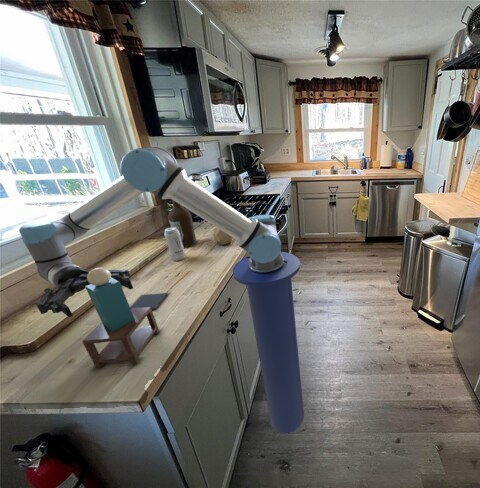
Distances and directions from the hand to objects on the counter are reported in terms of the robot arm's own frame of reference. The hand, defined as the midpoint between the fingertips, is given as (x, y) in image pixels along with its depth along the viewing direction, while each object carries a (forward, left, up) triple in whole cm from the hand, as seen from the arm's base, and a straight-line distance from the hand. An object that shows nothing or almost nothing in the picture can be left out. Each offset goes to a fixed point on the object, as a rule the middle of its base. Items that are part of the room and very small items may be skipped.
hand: (102, 297), depth 68 cm
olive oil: (+9, -73, -16) cm, 75 cm away
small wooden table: (-4, +3, -15) cm, 16 cm away
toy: (-4, +3, -6) cm, 8 cm away
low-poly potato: (-12, -72, -16) cm, 75 cm away
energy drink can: (+6, -55, -16) cm, 58 cm away
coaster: (+2, -19, -15) cm, 25 cm away
